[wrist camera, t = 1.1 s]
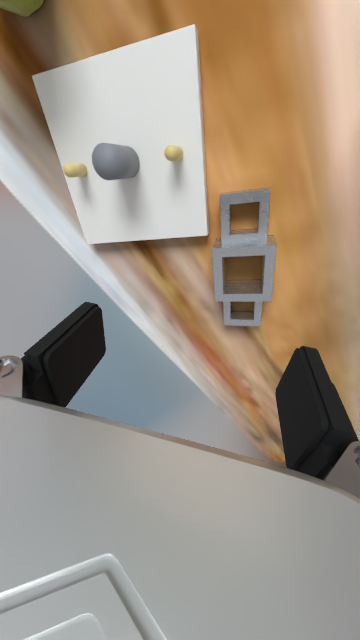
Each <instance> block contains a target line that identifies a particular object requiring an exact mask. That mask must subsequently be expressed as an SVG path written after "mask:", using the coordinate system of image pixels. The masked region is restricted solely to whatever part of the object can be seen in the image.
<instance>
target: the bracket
mask: <svg viewBox="0 0 360 640" xmlns="http://www.w3.org/2000/svg"><path fill="white" fill-rule="evenodd" d="M251 202H259V213H258V229H247V230H233V231H231V215H230V205H232V204H242V203H251ZM269 202H270V188H269V187H268V188H259V189H251V190H243V191H234V192H226V193H221V194H220V209H221V238H220V239H216V241H215V243H214V245H213V248H212V254H213V274H214V293H215V302H223V311H224V325H229V326H261V315H262V302H271V301H272V290H273V279H274V269H275V258H276V247H277V244H276V241H275V239H274V236H273V235H267V230H268V216H269ZM259 255H263V256H262V272H261V280H226V274H225V257H238V256H259ZM231 302H254V312H231Z"/></svg>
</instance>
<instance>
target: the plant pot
mask: <svg viewBox="0 0 360 640" xmlns="http://www.w3.org/2000/svg"><path fill="white" fill-rule="evenodd" d="M43 2H44V0H0V8H2V9H4V10H7V11H9V12H12V13H15V14H17V15H20V16H29V15H30V14H31V13H33V12H34V11H36V10H37V9H38V8H40V7H41V6H42V4H43Z"/></svg>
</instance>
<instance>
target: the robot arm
mask: <svg viewBox="0 0 360 640" xmlns="http://www.w3.org/2000/svg"><path fill="white" fill-rule="evenodd" d="M105 351H106V347H105V337H104V328H103V318H102V310H101V308H99V306H98V305H97V304H94V303H89V302H85V303H83V304H82V305H81V306H80V307H79V308H77V309H76V310H75V311H74V312H72V313H71V314H70V315H69V316H68V317H67V318H66V319H64V320H63V321H62V322H61V323H59V324H58V325H57V326H56V327H55V328H53V329H52V330H51V331H50V332H49V333H47V335H45V336H44V337H43V338H42V339H40V340H39V341H38V342H37V343H36V344H35V345H33V346H32V347H31V348H30V349H28V350H27V351H26V352H25V353H24V354H25V356H24V357H23V358H21V359H20V358H19V357H16V356H2V357H0V640H360V441H359V440H358V438H357V436H356V433H355V431H354V429H353V426H352V424H351V422H350V420H349V417H348V415H347V413H346V410H345V408H344V406H343V404H342V401H341V399H340V397H339V394H338V392H337V390H336V388H335V386H334V384H333V383H332V382H331V380H330V378H329V376H328V373H327V371H326V369H325V366H324V364H323V362H322V359H321V357H320V355H319V352H318V350H317V349H315V348H310V347H305V346H302V347H300V349H299V348H296V350H295V351H294V353H293V355H292V357H291V359H290V362H289V364H288V366H287V368H286V370H285V372H284V374H283V376H282V378H281V380H280V382H279V384H278V386H277V388H276V402H277V408H278V415H279V421H280V427H281V434H282V440H283V447H284V453H285V460H286V465H287V468H285V467H281V466H277V465H274V464H270V463H267V462H264V461H261V460H257V459H254V458H250V457H246V456H243V455H239V454H235V453H232V452H228V451H225V450H221V449H218V448H214V447H210V446H207V445H203V444H199V443H196V442H191V441H188V440H185V439H181V438H177V437H173V436H170V435H166V434H163V433H158V432H155V431H151V430H148V429H144V428H140V427H136V426H133V425H129V424H125V423H121V422H118V421H114V420H110V419H106V418H103V417H99V416H95V415H91V414H87V413H83V412H79V411H76V410H72V409H68V408H65V407H66V406H67V405H68V403H69V402H70V400H71V399H72V398H73V396H74V395H75V394H76V392H77V391H78V390H79V388H80V387H81V386H82V384H83V383H84V382H85V380H86V379H87V377H88V376H89V375H90V374H91V372H92V371H93V369H94V368H95V367H96V365H97V364H98V363H99V361H100V360H101V359H102V357H103V356H104V354H105Z"/></svg>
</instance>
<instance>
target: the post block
mask: <svg viewBox="0 0 360 640" xmlns="http://www.w3.org/2000/svg"><path fill="white" fill-rule="evenodd" d="M32 78H33V81H34V84H35V88H36V91H37V94H38V97H39V100H40V103H41V106H42V109H43V112H44V115H45V118H46V121H47V124H48V127H49V130H50V133H51V136H52V139H53V142H54V145H55V148H56V151H57V154H58V157H59V160H60V163H61V166H62V169H63V172H64V176H65V179H66V182H67V185H68V188H69V191H70V194H71V197H72V200H73V203H74V206H75V209H76V212H77V215H78V218H79V221H80V224H81V227H82V230H83V233H84V236H85V239H86V242H87V244H97V243H111V242H124V241H138V240H152V239H166V238H179V237H193V236H207V235H208V234H209V219H208V201H207V183H206V165H205V147H204V129H203V110H202V92H201V74H200V56H199V38H198V31H197V28H196V26H195V24H194V25H190V26H187V27H184V28H181V29H178V30H175V31H171V32H168V33H165V34H162V35H159V36H156V37H153V38H149V39H146V40H143V41H140V42H137V43H134V44H130V45H127V46H124V47H121V48H118V49H115V50H112V51H108V52H105V53H102V54H99V55H96V56H93V57H89V58H86V59H83V60H80V61H77V62H74V63H70V64H67V65H64V66H61V67H58V68H55V69H52V70H48V71H45V72H42V73H39V74H36V75H33V76H32Z"/></svg>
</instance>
